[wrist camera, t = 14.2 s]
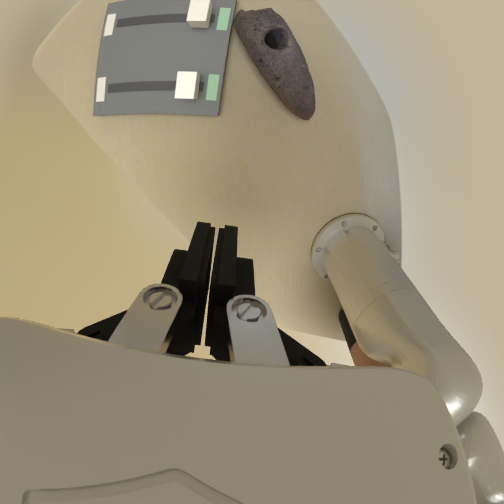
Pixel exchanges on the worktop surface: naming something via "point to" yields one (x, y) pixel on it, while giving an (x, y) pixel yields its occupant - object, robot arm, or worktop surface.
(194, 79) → the block
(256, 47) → the perforated stone tool
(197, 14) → the block
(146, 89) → the slider switch panel
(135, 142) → the worktop surface
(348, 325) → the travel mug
